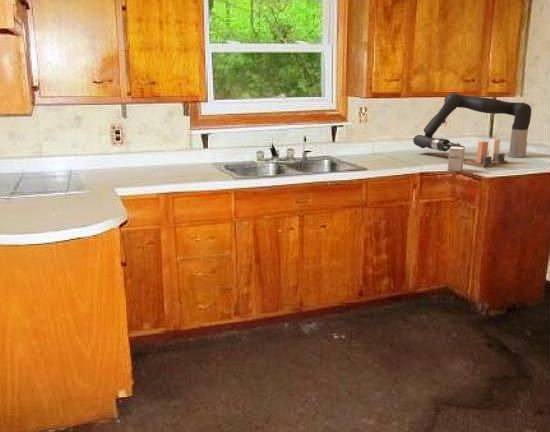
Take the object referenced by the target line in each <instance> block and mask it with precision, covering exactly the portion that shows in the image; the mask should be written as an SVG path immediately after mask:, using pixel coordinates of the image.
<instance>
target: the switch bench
mask: <svg viewBox="0 0 550 432" xmlns="http://www.w3.org/2000/svg"><path fill="white" fill-rule="evenodd" d="M505 157H506V155H505V153H499V154H495V160H492V157H489V156H487V157H483V163H476V160H477V158H476V159H470V160H465V161H464V160H463V165H467V166H474V167H479V168H488V167H495V166H500V165H506V164H508V162H509V160H506V159H505Z"/></svg>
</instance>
